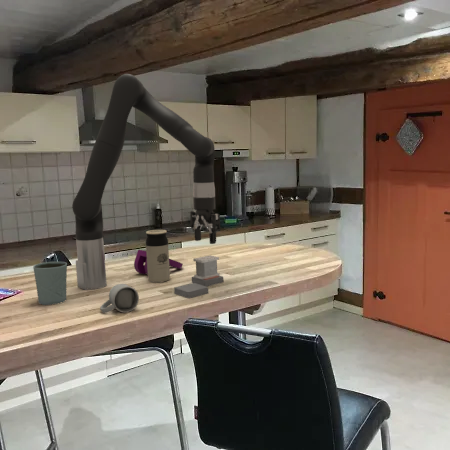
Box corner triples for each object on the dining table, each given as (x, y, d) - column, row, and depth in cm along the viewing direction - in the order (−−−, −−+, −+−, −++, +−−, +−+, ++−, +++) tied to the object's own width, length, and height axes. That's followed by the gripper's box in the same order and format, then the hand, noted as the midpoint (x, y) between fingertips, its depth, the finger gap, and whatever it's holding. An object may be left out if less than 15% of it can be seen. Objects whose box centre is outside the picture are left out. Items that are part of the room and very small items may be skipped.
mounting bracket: (166, 282, 203) (131, 270, 191) (173, 262, 205) (138, 249, 193) (181, 285, 197) (145, 274, 185) (187, 265, 198) (152, 252, 186)
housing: (202, 279, 172) (201, 260, 172) (194, 277, 176) (193, 258, 175) (219, 275, 177) (218, 257, 176) (211, 273, 181) (210, 255, 180)
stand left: (188, 298, 159) (188, 292, 158) (174, 293, 165) (174, 287, 164) (208, 293, 164) (208, 287, 163) (194, 288, 170) (193, 282, 169)
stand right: (205, 286, 171) (205, 280, 171) (191, 282, 178) (191, 276, 177) (223, 282, 176) (223, 276, 176) (209, 278, 182) (209, 272, 182)
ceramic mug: (131, 303, 156) (129, 279, 155) (140, 309, 149) (138, 284, 148) (97, 309, 151) (95, 285, 150) (104, 317, 144) (102, 291, 143)
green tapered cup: (31, 301, 162) (27, 265, 160) (60, 294, 169) (57, 259, 167) (45, 307, 155) (41, 269, 153) (75, 300, 162) (72, 263, 160)
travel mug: (146, 278, 185) (143, 230, 183) (167, 276, 188) (164, 228, 185) (150, 283, 178) (147, 233, 175) (172, 281, 181) (169, 231, 178)
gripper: (183, 195, 175) (184, 241, 178) (207, 197, 164) (209, 246, 167) (200, 193, 180) (201, 238, 182) (225, 196, 169) (226, 243, 171)
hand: (205, 242), depth 175 cm, fingers open, 8 cm apart
